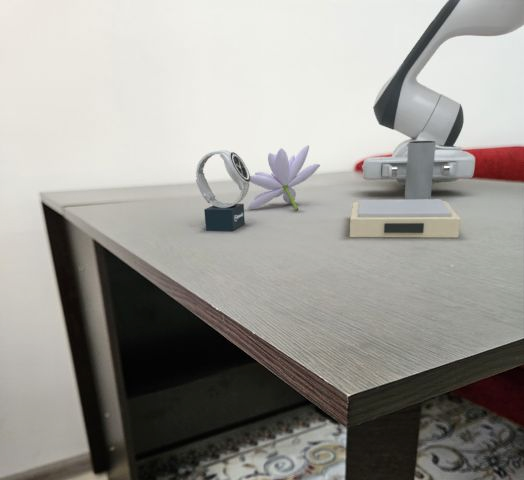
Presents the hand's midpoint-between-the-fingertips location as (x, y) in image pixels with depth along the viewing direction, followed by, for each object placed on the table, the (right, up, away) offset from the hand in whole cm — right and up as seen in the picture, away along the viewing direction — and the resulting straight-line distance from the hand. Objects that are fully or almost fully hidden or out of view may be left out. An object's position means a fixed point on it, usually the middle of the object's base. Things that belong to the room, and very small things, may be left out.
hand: (420, 171), depth 93 cm
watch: (-34, -13, -12) cm, 38 cm away
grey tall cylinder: (0, -5, +2) cm, 6 cm away
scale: (-8, -14, -17) cm, 24 cm away
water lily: (-24, -6, +3) cm, 25 cm away
